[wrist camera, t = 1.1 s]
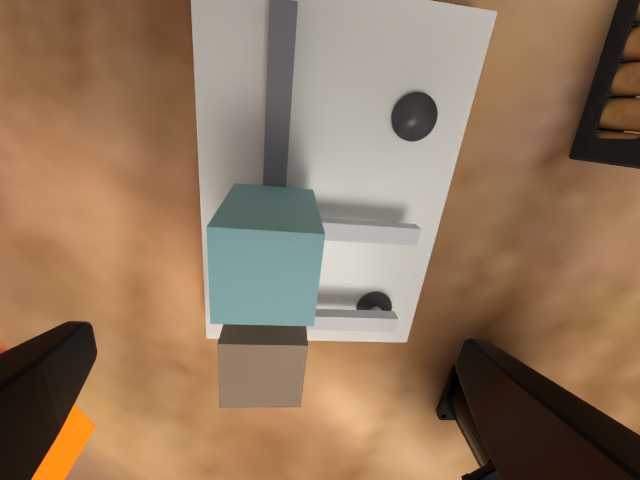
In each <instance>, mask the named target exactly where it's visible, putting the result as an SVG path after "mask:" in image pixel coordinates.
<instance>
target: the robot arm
mask: <svg viewBox="0 0 640 480" xmlns="http://www.w3.org/2000/svg"><path fill="white" fill-rule="evenodd" d="M96 356H97V347H96V342H95V337H94V332H93V327H92V325H91V324H90V323H89V322H83V321H68V322H65V323H63V324H61V325H59V326H57V327H55V328H53V329H51V330H49V331H47V332H45V333H43V334H40V335H38V336H36V337H34V338H32V339H30V340H28V341H26V342H24V343H22V344H20V345H18V346H16V347H13V348H11V349H9V350H7V351H5V352H3V353H1V354H0V480H31V479H32V478H33V476H34V474H35V473H36V471H37V470H38V468H39V466H40V465H41V463H42V461H43V460H44V458H45V456H46V455H47V453H48V452H49V450H50V448H51V447H52V445H53V443H54V442H55V440H56V438H57V436H58V435H59V433H60V431H61V429H62V428H63V426H64V424H65V422H66V420H67V418H68V416H69V414H70V412H71V410H72V408H73V406H74V403H75V401H76V399H77V397H78V395H79V393H80V391H81V389H82V387H83V385H84V383H85V381H86V379H87V377H88V375H89V373H90V371H91V368H92V366H93V364H94V362H95V360H96ZM437 416H438V418H439V419H440V420H456V422H457V424H458V426H459V428H460V430H461V432H462V434H463V436H464V438H465V440H466V442H467V443H468V445H469V447H470V449H471V451H472V453H473V455H474V457H475V459H476V461H477V463H478V465H479V466H480V468H479V469H477V470H475V471H473V472H472V473H470V474H468V473H467V474H465V475H463V476H461V478H462V480H640V435H638V434H637V433H635V432H634V431H632V430H630V429H629V428H627V427H626V426H624V425H622V424H621V423H619V422H617V421H616V420H614V419H613V418H611V417H609V416H608V415H606V414H605V413H603V412H601V411H600V410H598V409H596V408H595V407H593V406H592V405H590V404H588V403H587V402H585V401H584V400H582V399H580V398H579V397H577V396H575V395H574V394H572V393H571V392H569V391H567V390H566V389H564V388H563V387H561V386H559V385H558V384H556V383H555V382H553V381H551V380H550V379H548V378H546V377H545V376H543V375H542V374H540V373H538V372H537V371H535V370H534V369H532V368H530V367H529V366H527V365H525V364H524V363H522V362H521V361H519V360H517V359H516V358H514V357H513V356H511V355H509V354H508V353H506V352H504V351H503V350H501V349H500V348H498V347H496V346H495V345H493V344H492V343H490V342H488V341H487V340H485V339H483V338H475V337H468V338H466V339H465V340H464V342H463V344H462V347H461V349H460V352H459V354H458V357H457V359H456V365H455V366H454V367H453V369H452V372H451V375H450V377H449V380H448V383H447V386H446V388H445V391H444V394H443V396H442V399H441V402H440V405H439V407H438V410H437Z"/></svg>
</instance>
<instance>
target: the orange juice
mask: <svg viewBox="0 0 640 480" xmlns="http://www.w3.org/2000/svg"><path fill="white" fill-rule="evenodd" d="M94 428H95V425H94V424H93V423H92V422H91V421H90V420H89V419H88V418H87V417H86V416H85V415H84V414H83V413H82V412H80V411H79V410H78V409H77V408H76V407H75V406H73V408H72V410H71V412H70V414H69V416H68V418H67V420H66V422H65V424H64V426H63V428H62V429H61V431H60V433H59V435H58V436H57V438H56V440H55V442H54V443H53V445H52V447H51V448H50V450H49V452H48V453H47V455H46V456H45V458H44V460H43V461H42V463H41V465H40V466H39V468H38V470H37V471H36V473H35V474H34V476H33V478H32V479H31V480H64V479H65V477H66V475H67V474H68V472H69V470H70V469H71V467H72V465H73V464H74V462H75V460H76V459H77V457H78V455H79V454H80V452H81V450H82V448H83V447H84V445H85V443H86V442H87V440H88V438H89V437H90V435H91V433H92V432H93V430H94Z"/></svg>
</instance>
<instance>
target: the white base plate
mask: <svg viewBox="0 0 640 480" xmlns="http://www.w3.org/2000/svg"><path fill="white" fill-rule="evenodd" d="M497 12H498V11H492V10H486V9H480V8H474V7H468V6H462V5H456V4H450V3H444V2H438V1H432V0H191V14H192V35H193V57H194V78H195V99H196V121H197V142H198V163H199V185H200V206H201V227H202V249H203V270H204V291H205V312H206V334H207V339H219V340H218V344H217V347H218V380H219V408H263V407H301V400H302V392H303V383H304V375H305V366H306V357H307V349H308V341H360V342H407V339H408V336H409V332H410V328H411V325H412V321H413V317H414V314H415V310H416V307H417V303H418V299H419V296H420V292H421V288H422V285H423V281H424V278H425V274H426V270H427V267H428V263H429V259H430V256H431V252H432V248H433V245H434V241H435V238H436V234H437V230H438V227H439V223H440V219H441V216H442V212H443V208H444V205H445V201H446V198H447V194H448V190H449V187H450V183H451V179H452V176H453V172H454V169H455V165H456V161H457V158H458V154H459V150H460V147H461V143H462V139H463V136H464V132H465V129H466V125H467V121H468V118H469V114H470V110H471V107H472V103H473V100H474V96H475V92H476V89H477V85H478V81H479V78H480V74H481V70H482V67H483V63H484V60H485V56H486V52H487V49H488V45H489V41H490V38H491V34H492V30H493V27H494V23H495V20H496V16H497ZM234 183H238V184H250V185H263V186H275V187H288V188H300V189H312V190H313V192H314V195H315V199H316V202H317V206H318V210H319V213H320V217H323V218H338V219H352V220H366V221H380V222H391V221H398V222H399V223H409V224H416V225H417V226H418V227H419V228H420V229H421V232H420V236H419V240H418V244H417V246H410V245H393V244H377V243H360V242H344V241H327V240H324V249H323V257H322V265H321V273H320V281H319V289H318V298H317V306H316V314H315V322H314V326H278V325H239V324H210V304H209V279H208V254H207V229H206V227H207V225H208V224H209V222H210V220H211V219H212V217H213V216H214V214H215V213H216V211H217V210H218V208H219V206H220V205H221V203H222V202H223V200H224V199H225V197H226V196H227V194H228V193H229V191H230V189H231V188H232V186H233V185H234ZM307 340H308V341H307Z"/></svg>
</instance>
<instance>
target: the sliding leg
mask: <svg viewBox="0 0 640 480" xmlns="http://www.w3.org/2000/svg"><path fill="white" fill-rule="evenodd" d="M206 229H207V254H208V279H209V304H210V324H239V325H278V326H314V322H315V314H316V306H317V298H318V289H319V281H320V273H321V265H322V257H323V249H324V240H327V241H344V242H360V243H377V244H393V245H410V246H417V244H418V240H419V236H420V232H421V229H420V228H419V227H418V226H417V225H416V224H409V223H399V222H398V221H391V222H380V221H366V220H352V219H338V218H323V217H320V213H319V210H318V206H317V202H316V199H315V195H314V192H313V190H312V189H300V188H288V187H275V186H263V185H250V184H238V183H234V185H233V186H232V188H231V189H230V191H229V193H228V194H227V196H226V197H225V199H224V200H223V202H222V203H221V205H220V206H219V208H218V210H217V211H216V213H215V214H214V216H213V217H212V219H211V220H210V222H209V224H208V225H207V227H206Z"/></svg>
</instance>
